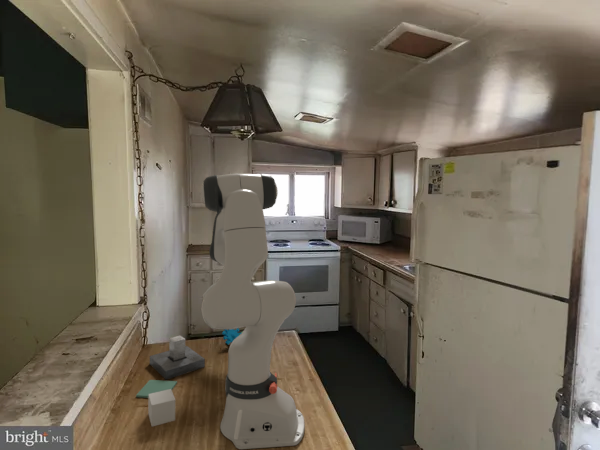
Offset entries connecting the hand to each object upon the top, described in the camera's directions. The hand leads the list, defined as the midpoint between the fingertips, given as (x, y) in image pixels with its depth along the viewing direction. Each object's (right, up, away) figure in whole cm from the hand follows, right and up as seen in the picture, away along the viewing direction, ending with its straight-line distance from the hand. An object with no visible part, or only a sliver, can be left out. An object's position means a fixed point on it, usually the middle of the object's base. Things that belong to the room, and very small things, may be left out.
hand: (208, 315), depth 134 cm
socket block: (-10, -16, -7) cm, 20 cm away
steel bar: (-10, -16, -7) cm, 20 cm away
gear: (+7, -15, +12) cm, 21 cm away
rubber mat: (-10, -17, -23) cm, 31 cm away
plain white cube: (-4, -19, -36) cm, 41 cm away
